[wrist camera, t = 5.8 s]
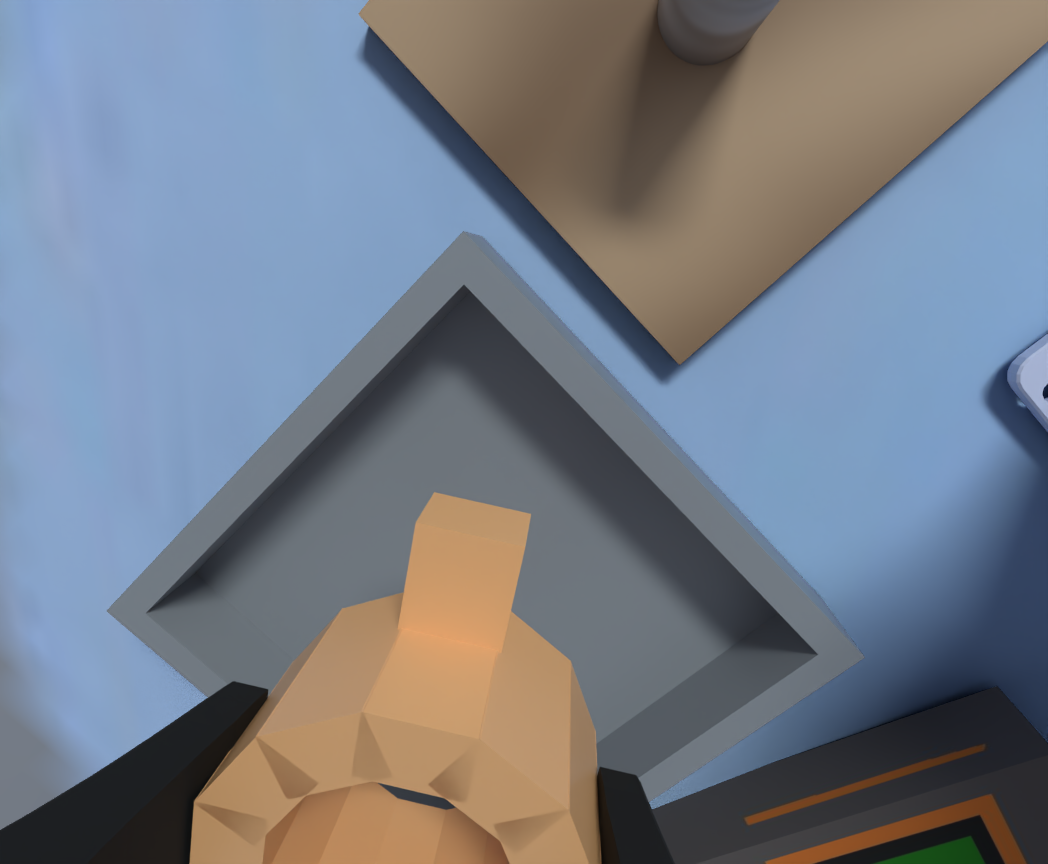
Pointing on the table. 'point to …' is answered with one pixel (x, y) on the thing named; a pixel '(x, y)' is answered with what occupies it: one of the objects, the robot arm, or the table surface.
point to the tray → (514, 483)
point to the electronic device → (883, 797)
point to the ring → (418, 726)
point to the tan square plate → (704, 122)
